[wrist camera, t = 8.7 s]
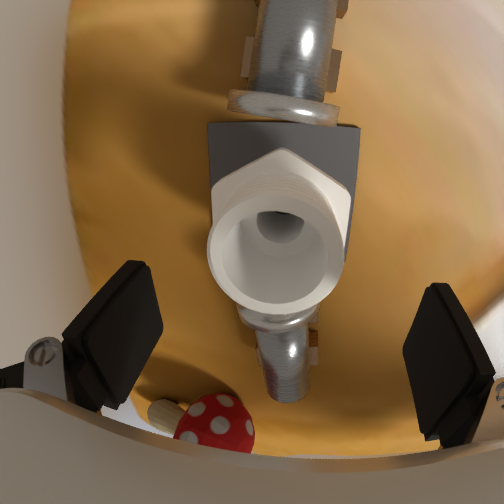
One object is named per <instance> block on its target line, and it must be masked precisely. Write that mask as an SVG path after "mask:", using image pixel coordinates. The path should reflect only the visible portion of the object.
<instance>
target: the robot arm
mask: <svg viewBox="0 0 504 504" xmlns="http://www.w3.org/2000/svg"><path fill="white" fill-rule="evenodd" d="M162 332H163V322H162V318H161V314H160V310H159V306H158V301H157V297H156V293H155V289H154V284H153V280H152V275H151V270H150V268H149V266H146V264H145V262H143V261H136V260H128V261H126V262H125V264H124V265H123V266H122V267H121V268H120V269H119V270H118V271H117V272H116V273H115V274H114V275H113V276H112V277H111V278H110V279H109V280H108V282H107V283H106V284H105V285H104V286H103V287H102V288H101V289H100V290H99V291H98V292H97V294H96V295H95V296H94V297H93V298H92V299H91V300H90V301H89V302H88V304H87V305H86V306H85V307H84V308H83V309H82V311H81V312H80V313H79V314H78V315H77V316H76V317H75V319H74V320H73V321H72V322H71V323H70V325H69V326H68V327H67V328H66V329H65V330H64V332H63V333H62V336H63V338H64V340H63V341H62V343H61V342H60V341H59V340H58V339H56V338H54V337H44V338H41V339H39V340H37V341H35V342H34V343H33V344H32V345H31V346H30V347H29V348H28V350H27V351H26V354H25V360H24V362H21V363H18V364H15V365H12V366H9V367H6V368H3V369H0V504H504V378H499V379H497V380H496V381H494V379H493V376H494V375H495V373H496V372H495V370H494V367H493V365H492V363H491V361H490V359H489V357H488V354H487V352H486V350H485V348H484V346H483V344H482V342H481V340H480V338H479V336H478V334H477V332H476V331H475V329H474V327H473V325H472V323H471V321H470V319H469V318H468V316H467V314H466V312H465V311H464V309H463V307H462V305H461V304H460V302H459V300H458V299H457V297H456V295H455V294H454V292H453V290H452V289H451V287H450V285H449V284H447V283H432V284H431V285H430V287H427V288H426V289H425V292H424V295H423V297H422V300H421V303H420V306H419V308H418V311H417V313H416V316H415V318H414V321H413V323H412V326H411V328H410V331H409V333H408V335H407V338H406V340H405V342H404V345H403V357H404V361H405V365H406V369H407V373H408V377H409V381H410V385H411V389H412V394H413V398H414V403H415V408H416V413H417V418H418V423H419V429H420V432H421V433H422V434H424V437H425V441H432V440H437V439H439V440H440V446H439V448H438V450H435V451H428V452H422V453H414V454H407V455H399V456H389V457H378V458H363V459H303V458H288V457H276V456H266V455H257V454H249V453H242V452H236V451H229V450H224V449H218V448H213V447H208V446H203V445H199V444H194V443H190V442H185V441H181V440H177V439H173V438H169V437H165V436H162V435H159V434H155V433H152V432H149V431H145V430H142V429H139V428H136V427H133V426H130V425H127V424H124V423H121V422H119V421H116V420H113V419H110V418H108V417H105V416H102V413H101V408H102V406H103V405H104V406H106V407H109V408H112V409H114V410H117V409H118V407H119V405H120V404H122V403H124V402H125V401H126V399H127V397H128V396H129V394H130V392H131V390H132V388H133V386H134V384H135V382H136V380H137V379H138V377H139V375H140V373H141V371H142V369H143V367H144V366H145V364H146V362H147V360H148V358H149V356H150V354H151V353H152V351H153V349H154V347H155V345H156V344H157V342H158V340H159V338H160V336H161V335H162Z"/></svg>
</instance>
